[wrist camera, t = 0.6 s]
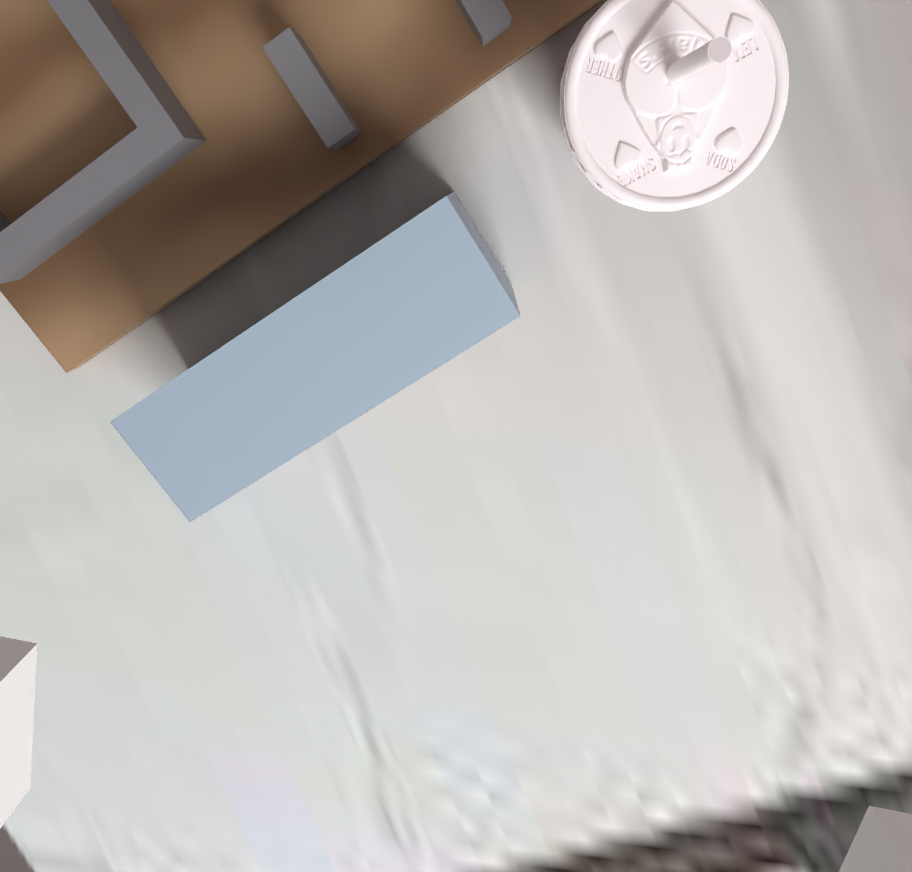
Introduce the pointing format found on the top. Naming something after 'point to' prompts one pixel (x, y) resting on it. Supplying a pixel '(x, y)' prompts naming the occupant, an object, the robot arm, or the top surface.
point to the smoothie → (673, 98)
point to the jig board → (218, 134)
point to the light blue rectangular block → (322, 359)
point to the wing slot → (319, 95)
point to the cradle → (122, 166)
